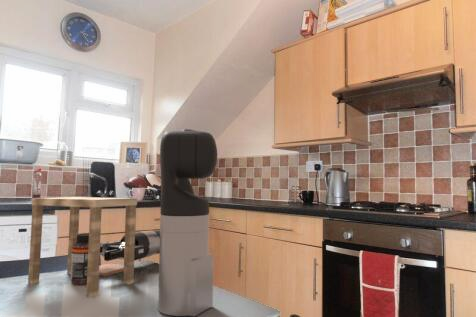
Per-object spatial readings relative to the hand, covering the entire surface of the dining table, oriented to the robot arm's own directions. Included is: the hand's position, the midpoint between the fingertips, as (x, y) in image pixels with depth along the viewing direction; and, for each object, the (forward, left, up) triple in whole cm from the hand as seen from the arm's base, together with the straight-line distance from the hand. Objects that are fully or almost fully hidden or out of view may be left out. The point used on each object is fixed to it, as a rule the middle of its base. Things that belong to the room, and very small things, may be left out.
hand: (93, 254), depth 81 cm
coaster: (+4, -8, -6) cm, 11 cm away
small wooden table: (0, +3, -6) cm, 7 cm away
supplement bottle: (0, +2, -6) cm, 7 cm away
